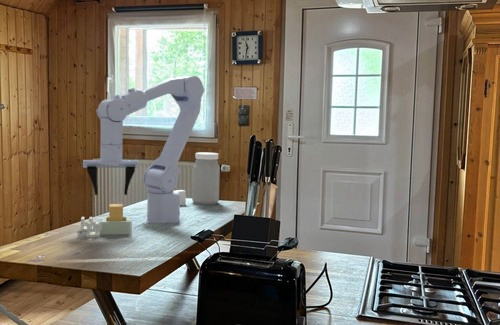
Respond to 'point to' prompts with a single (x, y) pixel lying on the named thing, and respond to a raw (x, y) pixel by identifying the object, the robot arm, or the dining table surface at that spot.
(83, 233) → the mat
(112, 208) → the connector plug
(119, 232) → the end holder
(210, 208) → the dining table surface
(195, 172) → the jar
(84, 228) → the cable clip
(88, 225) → the cable clip
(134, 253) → the dining table surface
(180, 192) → the napkin holder
